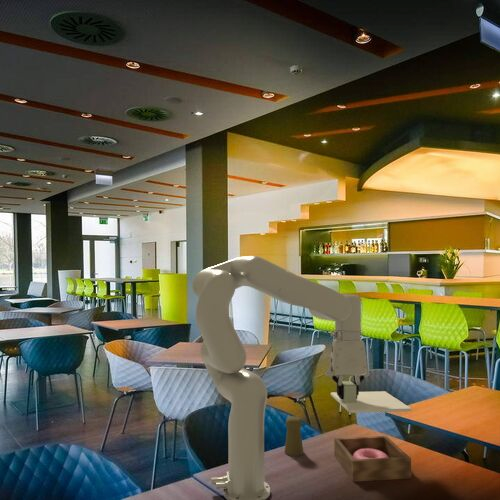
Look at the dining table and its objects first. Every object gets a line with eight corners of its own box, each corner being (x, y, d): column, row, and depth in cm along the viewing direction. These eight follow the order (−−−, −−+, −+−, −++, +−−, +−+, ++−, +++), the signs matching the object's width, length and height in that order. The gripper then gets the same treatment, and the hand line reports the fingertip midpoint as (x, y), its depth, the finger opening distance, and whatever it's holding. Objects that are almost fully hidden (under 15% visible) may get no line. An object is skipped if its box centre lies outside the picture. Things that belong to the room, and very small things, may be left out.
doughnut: (350, 472, 130) (350, 457, 130) (354, 457, 141) (354, 443, 141) (389, 478, 127) (389, 463, 127) (390, 461, 137) (390, 448, 137)
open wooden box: (353, 481, 124) (352, 461, 124) (334, 456, 141) (334, 438, 141) (411, 478, 126) (411, 458, 126) (386, 453, 143) (385, 435, 143)
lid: (349, 412, 124) (349, 391, 124) (330, 394, 142) (330, 376, 142) (411, 411, 126) (411, 390, 126) (385, 393, 144) (385, 375, 144)
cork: (303, 448, 147) (303, 414, 147) (303, 456, 141) (303, 421, 141) (284, 448, 147) (284, 414, 148) (284, 455, 141) (284, 420, 142)
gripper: (324, 337, 130) (324, 402, 129) (379, 337, 131) (379, 400, 131) (317, 334, 137) (317, 394, 136) (369, 333, 139) (369, 393, 138)
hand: (347, 397), depth 133 cm, fingers closed on lid, 3 cm apart
